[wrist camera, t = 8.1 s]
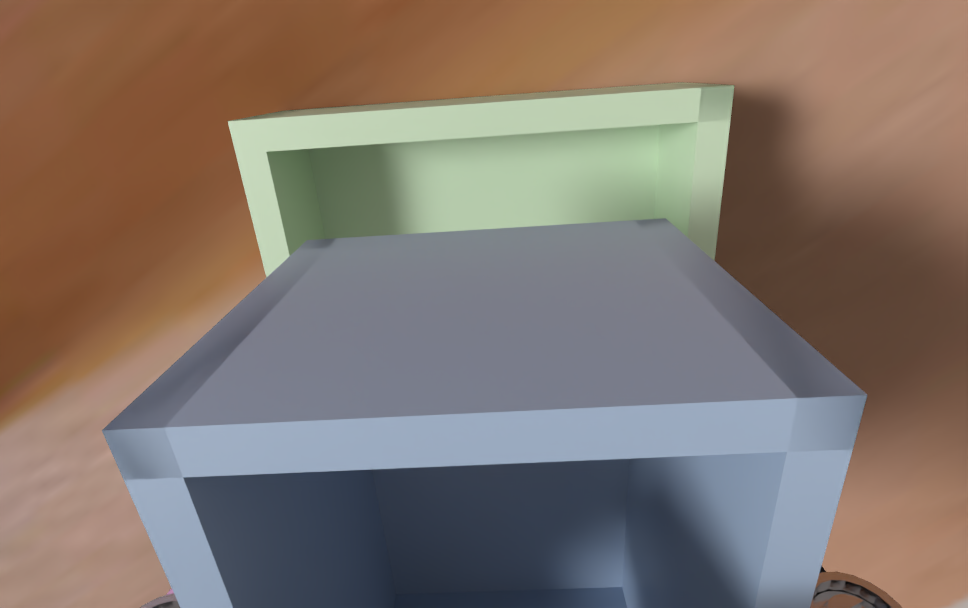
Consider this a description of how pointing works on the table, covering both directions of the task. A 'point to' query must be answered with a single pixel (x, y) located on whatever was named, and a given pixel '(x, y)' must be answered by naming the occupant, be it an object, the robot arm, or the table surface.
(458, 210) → the green tray
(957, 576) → the table surface
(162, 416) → the small crate
